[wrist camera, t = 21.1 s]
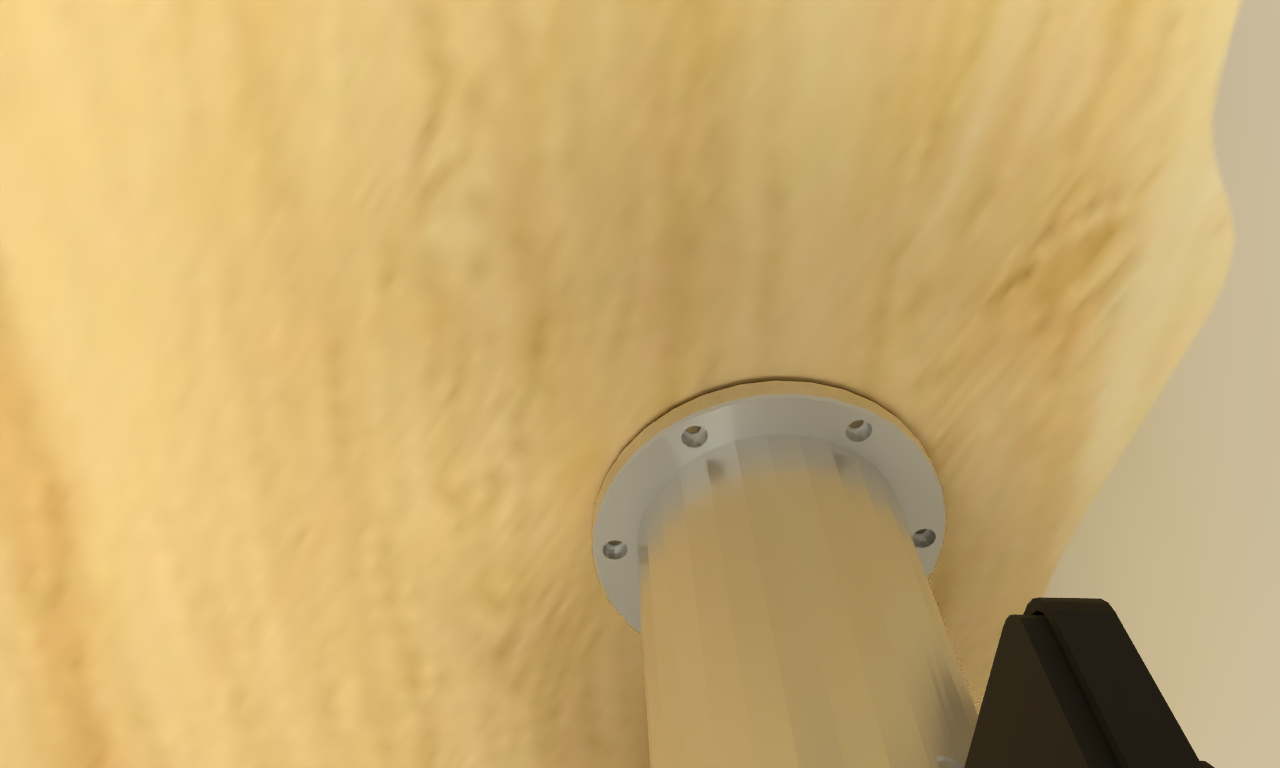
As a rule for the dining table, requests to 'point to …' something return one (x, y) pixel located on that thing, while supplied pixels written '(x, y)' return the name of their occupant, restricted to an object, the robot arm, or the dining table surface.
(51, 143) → the dining table surface
